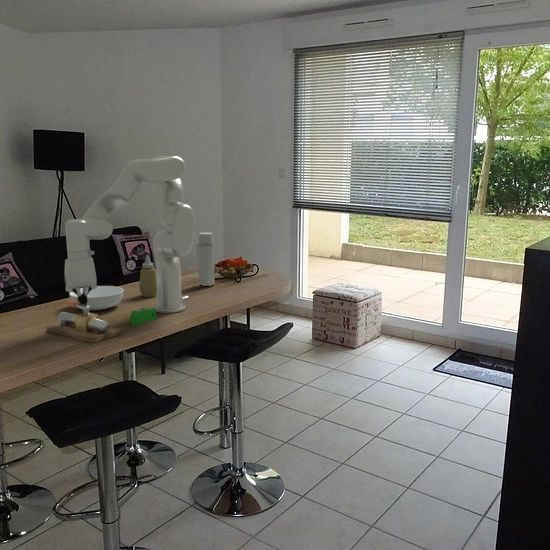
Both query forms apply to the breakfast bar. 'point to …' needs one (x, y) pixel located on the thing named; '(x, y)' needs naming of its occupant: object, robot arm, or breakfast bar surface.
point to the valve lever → (79, 306)
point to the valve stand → (82, 335)
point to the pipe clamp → (143, 316)
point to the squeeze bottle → (148, 279)
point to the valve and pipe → (84, 322)
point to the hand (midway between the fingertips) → (83, 305)
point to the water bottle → (205, 259)
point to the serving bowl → (101, 297)
